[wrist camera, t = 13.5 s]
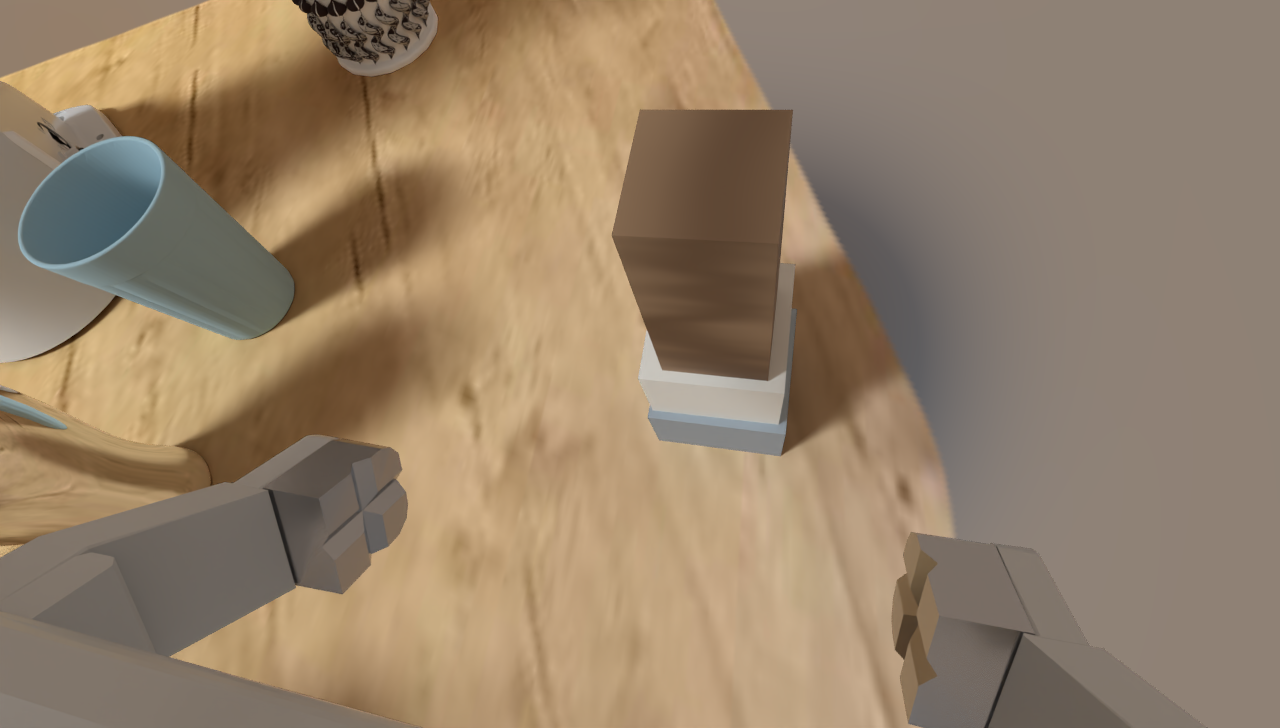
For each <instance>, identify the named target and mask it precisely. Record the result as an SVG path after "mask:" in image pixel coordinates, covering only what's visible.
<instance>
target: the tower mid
mask: <svg viewBox="0 0 1280 728" xmlns="http://www.w3.org/2000/svg"><path fill="white" fill-rule="evenodd" d="M794 274H795V264H784V263H780V268H779V279H778V290H777V300H776V310H775V319H774V329H773V338H772V348H771V358H770V367H769V377H768V381H763V380H753V379H743V378H733V377H723V376H714V375H704V374H694V373H684V372H674V371H665V370H662V368H661V366H660V363H659V360H658V358H657V355H656V352H655V350H654V347H653V344H652V342H651V339H650V336H649V334H648V331H647V332H646V337H645V343H644V348H643V354H642V360H641V365H640V371H639V376H638V380H639V382H640V384H641V386H642V388H643V391H644V393H645V395H646V397H647V399H648V401H649V403H650V406H651V408H652V410H653V411H662V412H671V413H680V414H688V415H697V416H706V417H715V418H724V419H732V420H741V421H750V422H759V423H768V424H776V425H779V420H780V414H781V409H782V404H783V399H784V393H785V381H786V369H787V357H788V345H789V334H790V322H791V310H792V298H793V286H794Z"/></svg>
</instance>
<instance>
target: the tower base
mask: <svg viewBox="0 0 1280 728" xmlns="http://www.w3.org/2000/svg"><path fill="white" fill-rule="evenodd" d="M796 315H797V309H792V310H791V322H790V334H789V345H788V357H787V369H786V381H785V393H784V399H783V404H782V409H781V414H780V420H779V425H776V424H768V423H759V422H750V421H741V420H732V419H724V418H715V417H706V416H697V415H688V414H680V413H671V412H662V411H653V410H652V408H651V406H650V408H649V413H648V419H649V421H650V423H651V425H652V427H653V429H654V431H655V433H656V435H657V437H658V439H659V440H662V441H670V442H677V443H685V444H692V445H700V446H708V447H715V448H723V449H730V450H738V451H745V452H753V453H760V454H768V455H776V456H781V452H782V448H783V444H784V439H785V435H786V425H787V414H788V403H789V392H790V381H791V370H792V359H793V348H794V337H795V326H796Z"/></svg>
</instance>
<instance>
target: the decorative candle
mask: <svg viewBox="0 0 1280 728" xmlns="http://www.w3.org/2000/svg"><path fill="white" fill-rule="evenodd" d="M292 1H293V3H294V4H296V5H299V8H300V10H301V11H303V12H304V13H307V19H308V23H309V25H310V26H311V28H312V29H313V30H314V31H316V32H317V33H318V34H319V35H320V36H321V37H322V40H323V43H324V45H325V46H326V47H327V48H328V49H329V50H331V52H332V53H333V54H334V55H335V56H336V57H337V59H338V62H339V64H340V65H341V66H342V67H343V68H345V69H346V70H348V71H349V72H351V73H352V74H354V75H361V76H369V77H373V76H378V75H383V74H388V73H392V72H394V71H396V70H398V69H400V68H402V67H404V66H406V65H408V64H410V63H412V62H413V61H414V60H415V59H417V58H418V57H419V56H420V55H421V54H422V53H423V52H424V51H426V50H427V49H428V47H429V46H430V44H431V42H432V40H433V39H434V37H435V35H436V34H437V26H438V16H437V15H436V13H435V11H434V9H433V7H432V5H431V4H430V0H292Z"/></svg>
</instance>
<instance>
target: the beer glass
mask: <svg viewBox="0 0 1280 728" xmlns="http://www.w3.org/2000/svg"><path fill="white" fill-rule="evenodd" d="M210 486H211V477H210V472H209V468H208V466H207V464H206V462H205V461H204V459H203V458H202V457H201V456H200V455H199V454H197V453H196V452H194V451H192V450H190V449H187V448H183V447H177V446H167V445H154V444H144V443H138V442H133V441H129V440H126V439H123V438H120V437H117V436H114V435H111V434H109V433H107V432H105V431H102V430H100V429H98V428H96V427H94V426H92V425H90V424H88V423H85V422H83V421H81V420H79V419H77V418H75V417H73V416H71V415H69V414H67V413H65V412H63V411H61V410H59V409H57V408H54V407H52V406H50V405H48V404H46V403H44V402H42V401H39V400H37V399H35V398H32V397H30V396H27V395H25V394H23V393H20V392H18V391H16V390H13V389H11V388H8V387H5V386H2V385H0V546H11V545H24V544H26V543H28V542H30V541H31V540H33V539H35V538H37V537H39V536H42V535H46V534H49V533H52V532H56V531H59V530H63V529H66V528H70V527H73V526H76V525H80V524H83V523H87V522H90V521H93V520H97V519H100V518H104V517H107V516H111V515H114V514H117V513H121V512H124V511H128V510H131V509H134V508H138V507H141V506H145V505H148V504H152V503H155V502H158V501H162V500H165V499H169V498H172V497H175V496H179V495H182V494H186V493H189V492H193V491H196V490H199V489H203V488H206V487H210Z"/></svg>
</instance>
